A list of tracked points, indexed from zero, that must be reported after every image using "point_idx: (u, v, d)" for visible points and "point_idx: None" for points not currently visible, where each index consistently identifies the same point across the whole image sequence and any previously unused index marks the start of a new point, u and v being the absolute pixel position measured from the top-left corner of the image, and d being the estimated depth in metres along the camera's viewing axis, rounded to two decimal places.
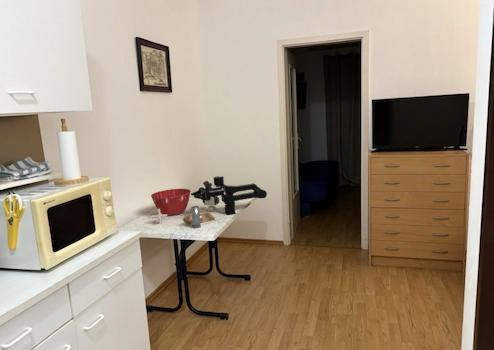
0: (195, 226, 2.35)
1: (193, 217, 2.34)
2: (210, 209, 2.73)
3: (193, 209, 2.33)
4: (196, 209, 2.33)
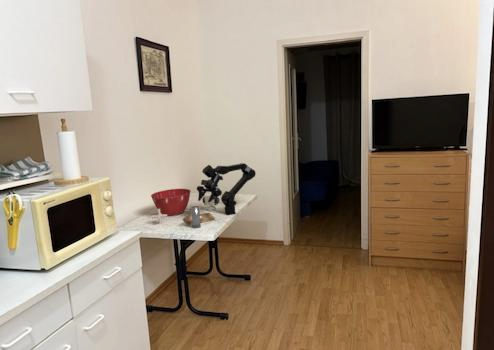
0: (195, 226, 2.35)
1: (193, 217, 2.34)
2: (210, 209, 2.73)
3: (193, 209, 2.33)
4: (196, 209, 2.33)
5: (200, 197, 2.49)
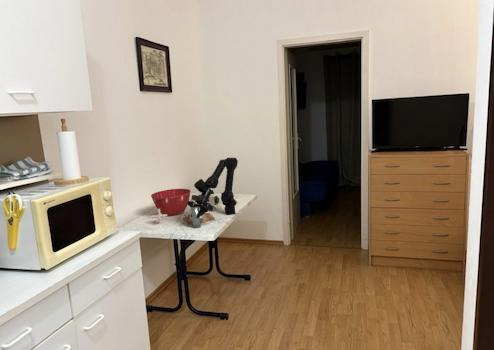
0: (195, 226, 2.35)
1: (193, 217, 2.34)
2: None
3: (193, 209, 2.33)
4: (196, 209, 2.33)
5: None
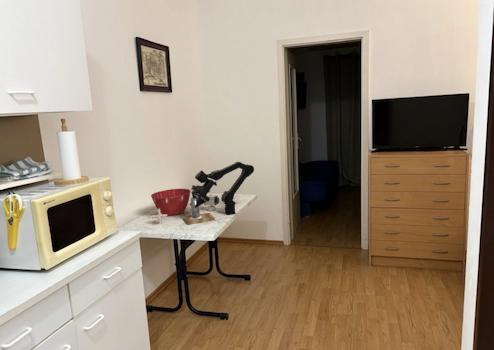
0: (193, 216, 2.50)
1: (191, 207, 2.49)
2: (210, 209, 2.73)
3: (191, 200, 2.48)
4: (194, 200, 2.48)
5: None
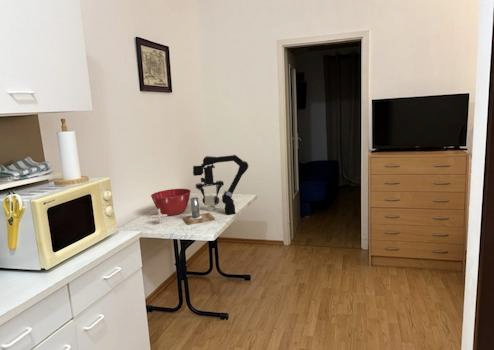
0: (193, 216, 2.50)
1: (192, 207, 2.49)
2: (210, 209, 2.73)
3: (191, 200, 2.48)
4: (194, 200, 2.47)
5: (216, 192, 2.62)
